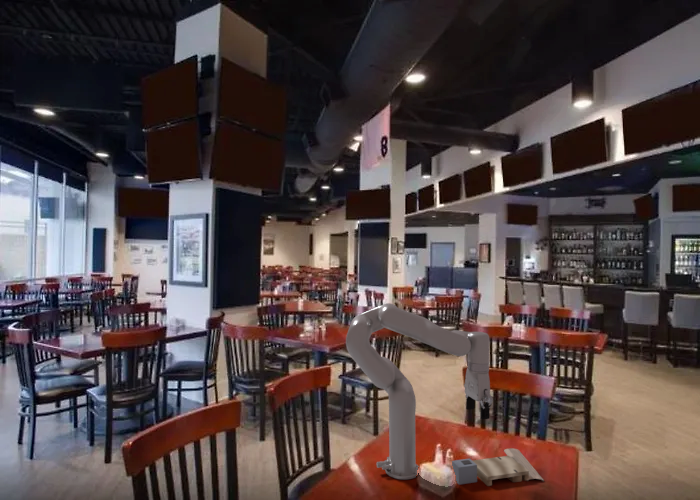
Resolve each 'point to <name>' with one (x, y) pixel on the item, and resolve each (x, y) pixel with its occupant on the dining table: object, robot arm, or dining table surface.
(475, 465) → the grey hollow block
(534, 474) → the beige piece
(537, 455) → the dining table surface
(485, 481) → the miniature wooden pallet
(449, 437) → the dining table surface
